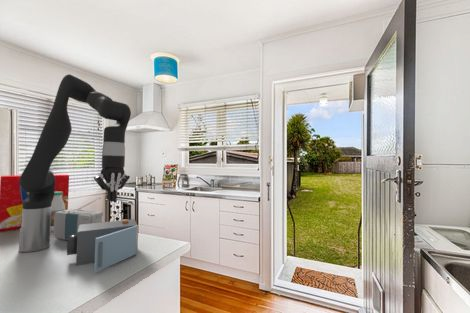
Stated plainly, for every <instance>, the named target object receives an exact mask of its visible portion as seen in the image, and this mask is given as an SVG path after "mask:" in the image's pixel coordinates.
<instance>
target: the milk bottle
mask: <svg viewBox="0 0 470 313" xmlns="http://www.w3.org/2000/svg"><path fill="white" fill-rule="evenodd" d="M62 194H63V192H61V191H58V192H54V198H53V200H52V204H51V227H50V232H54V217H55V212H58V211H63V210H65V204H64V202H63V200H62Z"/></svg>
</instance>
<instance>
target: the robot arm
mask: <svg viewBox="0 0 470 313" xmlns="http://www.w3.org/2000/svg"><path fill="white" fill-rule="evenodd" d="M69 99H72V100H75V101H77V102H80V103H85V104H88V105H89V106H90V108H92V109H93V110H95V111H96V112H97V113H98V115H99V116H100V117H101V118H103V119H106V120H110V121H116V122H115V124H114V125H109V126H106V127H104V129H103V138H102V139H103V140H102V141H103V142H102V143H103V144H102V149H101V170H100V174H99V175H98V176H94V177H93V179H94V181H95V182H96V183H97V185H98V186H99V188H101V190H102V191H107V193H106V194H107V195H106V197H107V198H106V200H107V201H108V202H110V203H111V202H112V203H113V202H116V200H117V198H118V197H117V196H118V191H119V190H122V189H123V188H124V187H125V185H126V184H127V182H128V180H129V179H130V178H131V177H130V175H128V174H126V173H125V172H126V171H125V170H124V168H125V161H126V145H125V143H126V140H125V138H126V131H127V128H128V124H129V122H130V118H131V117H132V116H131V115H132V110H131V108H130V106H129V104H127V103H123V102H120V101H116V100H113V99H112V98H111V97H109V96H108V95H106V94H104V93H102V92H99V91H97V90H96V89H95V88H94V87H93V86H91V84H90V83H88V82H87V81H85V80H83V79H80V78H78V77H77V76H75V75H72V74H66V75H64V76H63V78H62V79H61V81H60V83H59V86H58V88H57V92H56V95H55V98H54V102H53V105H52V108H51V110H50V113H49V114H48V116H47V117H48V118H47V119H46V121H45V123H44V126H43V128H42V130H41V133H40V135H39V138H38V141H37V143H36V146H35V148H34V150H33V153H32V155H31V158H30V159H29V160H28V163H27V164H26V166H25V168H24V169H23V171H22V173H21V177H20V181H19V183H20V186H21V188H22V189H23V190H24V191H27V192H29V195H28V197H27V198H26V199H25V200H24V202H23V207H22V208H23V209H22V227H21V228H20V230H19V237H18V240H19V241H18V253H31V252H38V251H42V250H45V249H47V248H49V247H50V245H51V231H50V227H51V204H52V200H53V198H54V191H55V176H54V175H55V174H54V172H52V171H51V170H50V168H51V165H52V164H53V162H54V160H55V159H56V158H57V156H58V155H59V154H60V153H61V151H62V150H64V148H65V147H66V145H67V143H68V141H69V138H70V136H71V133H72V127H73V126H72V122H71V120H70V119H71V118H70V116H69V112H68V104H69Z"/></svg>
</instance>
